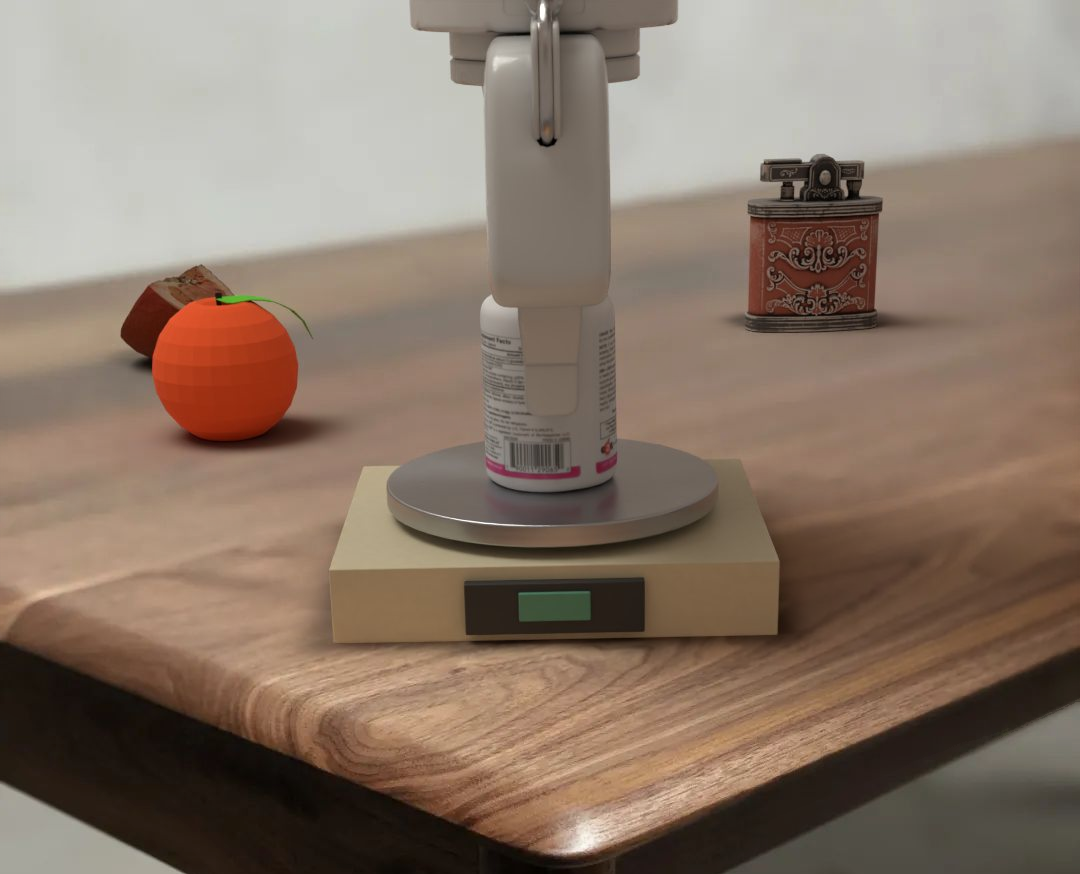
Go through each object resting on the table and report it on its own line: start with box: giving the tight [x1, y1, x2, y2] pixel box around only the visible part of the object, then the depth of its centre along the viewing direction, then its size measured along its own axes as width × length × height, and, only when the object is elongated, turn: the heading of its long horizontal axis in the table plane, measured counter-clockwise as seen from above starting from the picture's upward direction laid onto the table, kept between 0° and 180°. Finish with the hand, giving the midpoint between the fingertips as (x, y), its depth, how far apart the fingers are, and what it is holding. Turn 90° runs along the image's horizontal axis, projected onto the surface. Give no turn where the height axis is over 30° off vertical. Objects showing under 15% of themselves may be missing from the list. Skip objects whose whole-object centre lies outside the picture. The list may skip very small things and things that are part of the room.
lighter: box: [744, 153, 884, 333], centre depth 110 cm, size 8×3×10 cm, turn 94°
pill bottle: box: [479, 293, 618, 492], centre depth 65 cm, size 5×5×8 cm
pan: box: [386, 437, 718, 548], centre depth 67 cm, size 12×12×1 cm
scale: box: [328, 458, 781, 644], centre depth 67 cm, size 15×14×3 cm
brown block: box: [119, 264, 236, 360], centre depth 106 cm, size 8×7×5 cm
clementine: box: [151, 293, 314, 442], centre depth 88 cm, size 8×7×7 cm
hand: (551, 391), depth 65 cm, fingers closed on pill bottle, 5 cm apart
